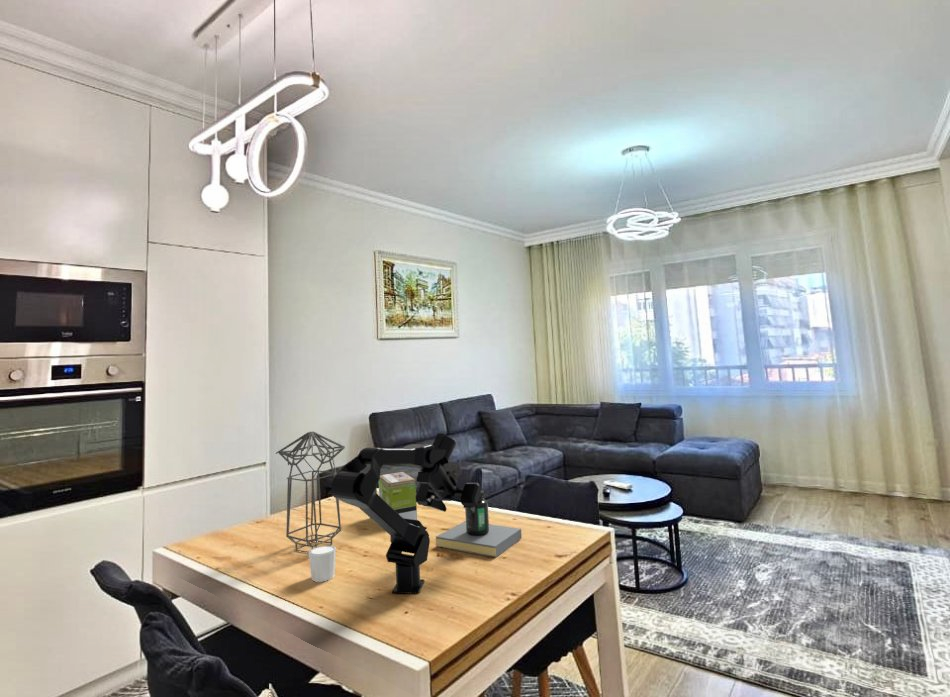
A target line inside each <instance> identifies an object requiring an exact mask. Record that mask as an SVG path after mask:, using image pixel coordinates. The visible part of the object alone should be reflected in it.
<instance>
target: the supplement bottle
mask: <svg viewBox="0 0 950 697" xmlns="http://www.w3.org/2000/svg"><path fill="white" fill-rule="evenodd" d="M464 509H465V508H464ZM464 512H465V521H466V532H467V534H469V535H471V536H482V535H485V534H487V533H488V532H489V524H490V520H489V518H490V517H489V504H488V501H487V500H486V499H485V491H484V490H483V489H482V490H481V494H480V497H479V500H478V504H477V506H475V512H474V513H472V512H470V511H469V510H467V509H465V511H464Z"/></svg>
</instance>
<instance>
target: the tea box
mask: <svg viewBox="0 0 950 697" xmlns="http://www.w3.org/2000/svg"><path fill="white" fill-rule="evenodd" d="M377 483H378V495H379V496H380V497H381V498H382V499H383V500H384V501H385V502H386V503H387V504H388V505H389V506H391V507H392V508H393V509H394V510H395V511H396V512H397V513H398V514H399V515H400V516H401V517H402V518H405V519H413V520H418V507H417V506H418V505H417V504H418V503H417V502H416V500H415V496H416V494H417V488H416V485H417V484H416V478H413V477H412V476H410V475H409V474H407V473H405V472H404V471H400V472H393V473H392V472H391V473H388V474H387V473H386V474H382V475H381V474H380V479H379V481H378V482H377Z"/></svg>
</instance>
